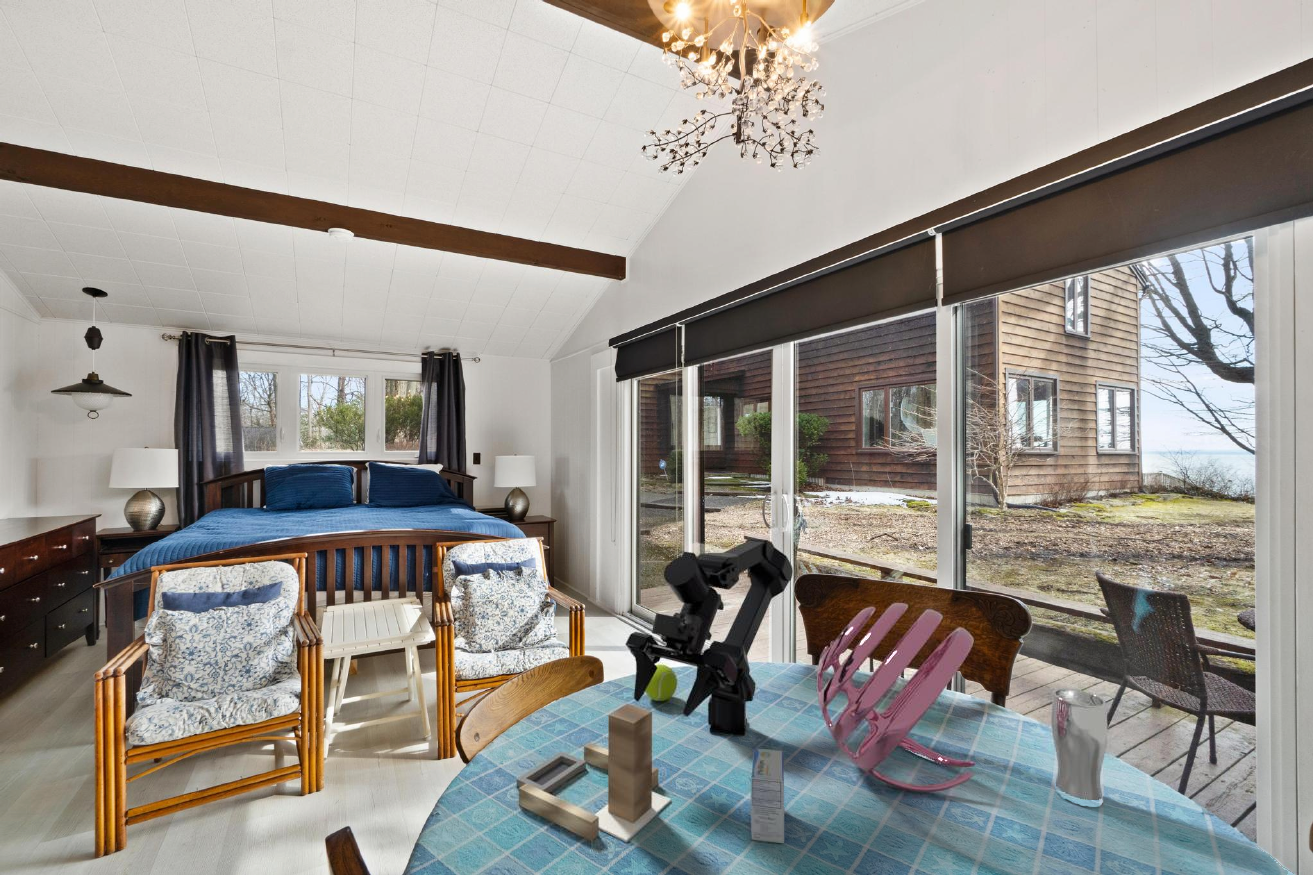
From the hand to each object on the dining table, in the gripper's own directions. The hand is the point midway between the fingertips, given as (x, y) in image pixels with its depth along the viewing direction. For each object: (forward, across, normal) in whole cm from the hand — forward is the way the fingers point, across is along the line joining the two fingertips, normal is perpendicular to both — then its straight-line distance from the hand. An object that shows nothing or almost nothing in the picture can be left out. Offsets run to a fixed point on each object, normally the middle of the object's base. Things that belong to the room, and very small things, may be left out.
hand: (659, 707), depth 93 cm
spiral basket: (-10, +29, +28) cm, 41 cm away
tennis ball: (-9, -17, +27) cm, 33 cm away
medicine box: (+8, +18, +10) cm, 22 cm away
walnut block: (+14, 0, +3) cm, 14 cm away
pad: (+14, 0, +3) cm, 14 cm away
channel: (+14, -8, +3) cm, 17 cm away
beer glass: (-15, +54, +33) cm, 65 cm away
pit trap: (+14, -16, +3) cm, 21 cm away
